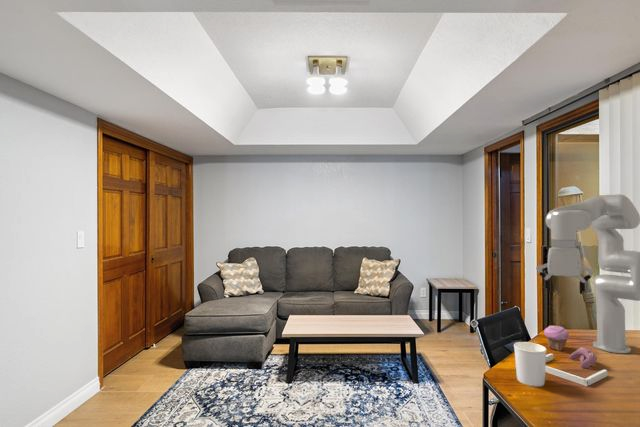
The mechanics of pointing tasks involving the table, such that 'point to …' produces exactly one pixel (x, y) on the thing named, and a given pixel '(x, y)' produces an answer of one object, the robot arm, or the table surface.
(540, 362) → the candle holder
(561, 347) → the cupcake
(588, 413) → the table surface
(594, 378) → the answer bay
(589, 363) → the video game controller
